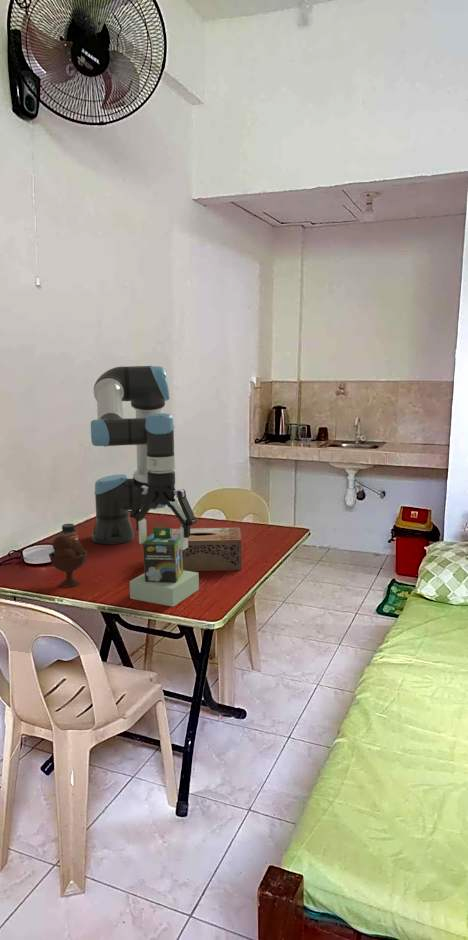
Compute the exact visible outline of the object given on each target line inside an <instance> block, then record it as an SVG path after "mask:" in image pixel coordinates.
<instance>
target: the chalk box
mask: <svg viewBox="0 0 468 940" xmlns="http://www.w3.org/2000/svg"><path fill="white" fill-rule="evenodd" d="M170 529H171V528H170V527H168V526H153V528H152V530H153V533H151V534H150V535H149V536H147V538H146V540H145V541H144V543H142V552H143V568H144V570H143V571H144V573H145V582H146V581H151V582H173V583H176V582H177V580H178V579H179V577H180V576H181V574H182V572H183V557H182V550H181V538H180V534H177V533H170ZM161 531H165V532H166V533H163V534H161V533H159V532H161Z"/></svg>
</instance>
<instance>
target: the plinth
mask: <svg viewBox="0 0 468 940" xmlns="http://www.w3.org/2000/svg"><path fill="white" fill-rule="evenodd" d="M199 580H200V577H199V572H198V571H184V570H183V572H182V574H181V576H180V577H179V579H178V580H177V582H176V583H173V582H151V581H146V582H145V572H144V573H142V574H140V575H139V576H137V577H134V578H133V579H131V580H129V598H130V599H132V600H136V601H141V602H147V603H152V604H157V605H163V606H167V607H168V606H169V607H176V606H177V605H178V604H180V603H181V602H182V601H184V600H186V599H187V598H189V597H190V596H191V595H193V594H194V593H196V592H197V591H199V589H200V583H199V582H200V581H199Z"/></svg>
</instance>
